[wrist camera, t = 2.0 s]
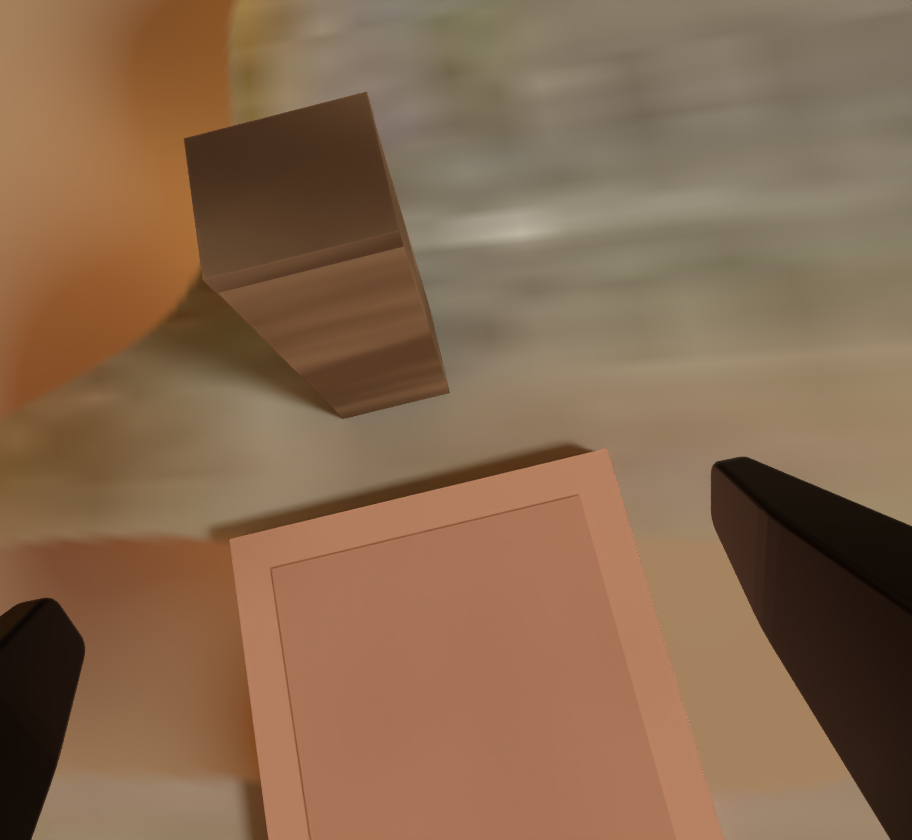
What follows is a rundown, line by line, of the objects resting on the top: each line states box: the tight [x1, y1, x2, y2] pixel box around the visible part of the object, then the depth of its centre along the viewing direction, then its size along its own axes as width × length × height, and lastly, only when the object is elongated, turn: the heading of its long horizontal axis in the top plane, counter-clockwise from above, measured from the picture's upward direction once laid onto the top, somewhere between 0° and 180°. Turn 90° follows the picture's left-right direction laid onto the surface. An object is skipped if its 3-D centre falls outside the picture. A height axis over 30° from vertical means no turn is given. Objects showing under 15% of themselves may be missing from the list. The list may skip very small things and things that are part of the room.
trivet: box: [229, 448, 724, 840], centre depth 20 cm, size 13×13×1 cm
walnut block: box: [184, 92, 450, 419], centre depth 19 cm, size 3×4×11 cm
